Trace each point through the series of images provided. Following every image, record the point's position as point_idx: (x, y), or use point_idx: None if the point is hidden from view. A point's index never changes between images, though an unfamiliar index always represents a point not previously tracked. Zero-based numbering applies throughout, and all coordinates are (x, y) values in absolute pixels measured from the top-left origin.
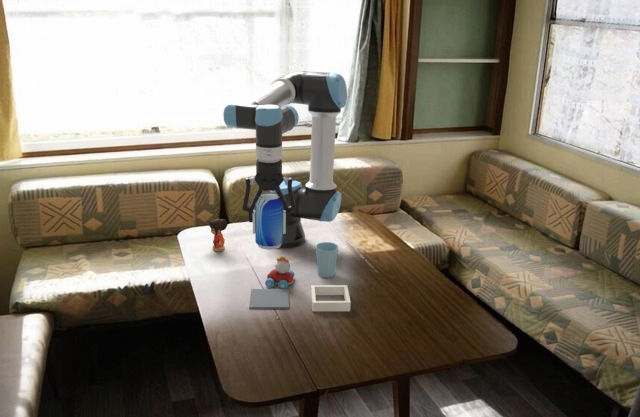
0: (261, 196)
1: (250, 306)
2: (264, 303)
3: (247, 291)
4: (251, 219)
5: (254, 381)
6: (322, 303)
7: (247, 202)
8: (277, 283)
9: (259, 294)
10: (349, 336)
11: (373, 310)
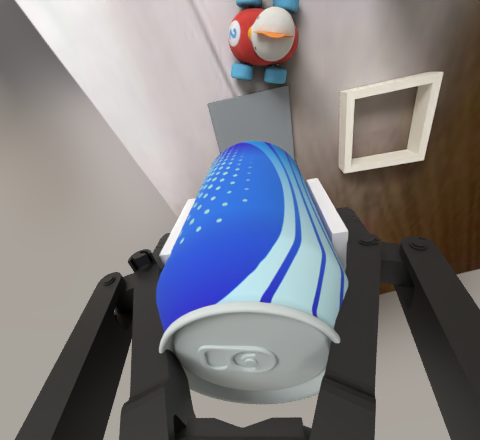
0: (193, 363)
1: None
2: None
3: (201, 108)
4: None
5: None
6: (363, 169)
7: (128, 344)
8: (259, 65)
9: (231, 126)
10: (389, 227)
11: (463, 142)
